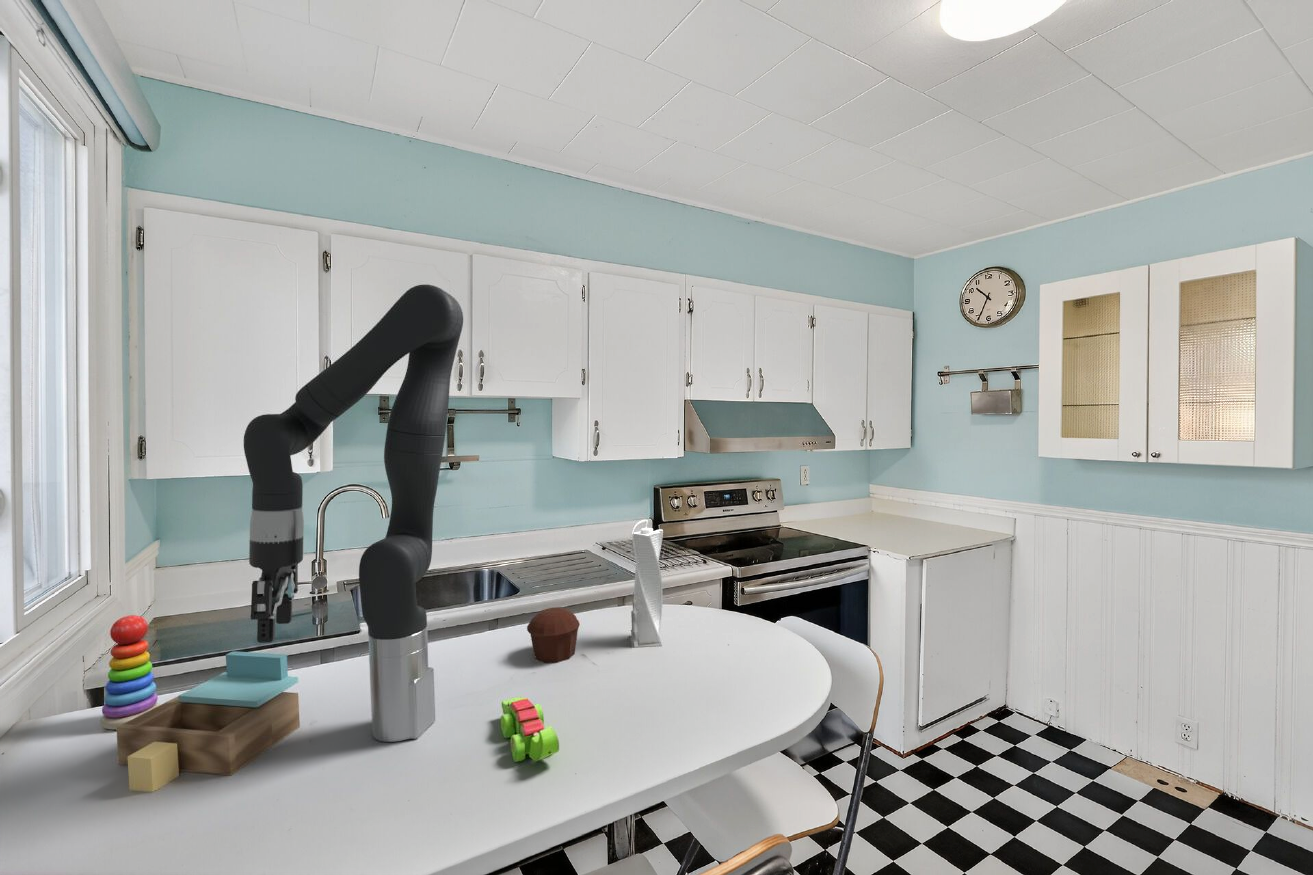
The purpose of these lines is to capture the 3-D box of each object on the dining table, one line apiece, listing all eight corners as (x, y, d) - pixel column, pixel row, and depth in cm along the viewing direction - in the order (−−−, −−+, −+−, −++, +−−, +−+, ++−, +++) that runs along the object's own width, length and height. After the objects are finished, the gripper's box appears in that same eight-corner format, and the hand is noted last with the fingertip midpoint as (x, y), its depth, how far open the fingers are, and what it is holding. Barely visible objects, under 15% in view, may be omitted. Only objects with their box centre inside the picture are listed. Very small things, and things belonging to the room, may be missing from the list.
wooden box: (299, 726, 105) (298, 692, 105) (230, 775, 91) (228, 736, 91) (199, 718, 108) (197, 685, 108) (118, 764, 94) (116, 727, 94)
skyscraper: (629, 635, 146) (627, 519, 144) (662, 633, 146) (660, 518, 145) (631, 649, 137) (629, 526, 136) (666, 646, 138) (665, 525, 137)
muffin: (555, 640, 142) (554, 598, 142) (590, 651, 136) (590, 607, 135) (516, 658, 133) (515, 613, 132) (552, 670, 126) (551, 623, 125)
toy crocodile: (495, 719, 107) (494, 685, 106) (532, 710, 110) (531, 677, 109) (522, 781, 89) (521, 741, 89) (565, 768, 92) (565, 729, 92)
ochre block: (178, 775, 92) (177, 743, 91) (153, 792, 88) (150, 758, 87) (156, 773, 92) (154, 741, 92) (129, 789, 88) (127, 756, 88)
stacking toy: (126, 733, 104) (119, 626, 103) (89, 729, 105) (82, 623, 104) (171, 710, 111) (165, 610, 110) (136, 707, 113) (130, 608, 112)
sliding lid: (298, 682, 108) (296, 654, 108) (257, 707, 99) (255, 677, 99) (224, 677, 110) (223, 650, 110) (178, 701, 102) (176, 672, 101)
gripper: (288, 544, 94) (286, 647, 95) (314, 526, 108) (313, 616, 108) (232, 545, 92) (231, 650, 93) (267, 526, 106) (265, 618, 106)
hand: (275, 631), depth 101 cm, fingers open, 8 cm apart
